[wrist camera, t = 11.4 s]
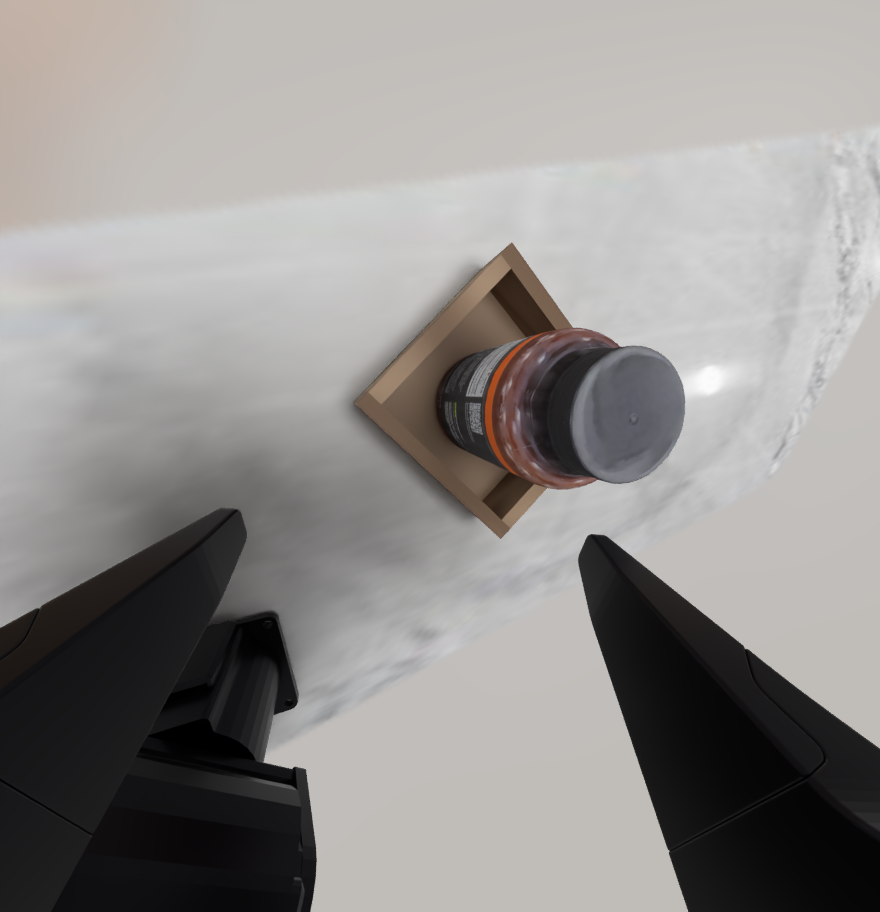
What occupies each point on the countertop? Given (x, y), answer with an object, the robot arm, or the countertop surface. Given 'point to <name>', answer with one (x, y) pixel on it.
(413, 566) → the countertop surface
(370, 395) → the wooden box
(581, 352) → the supplement bottle
